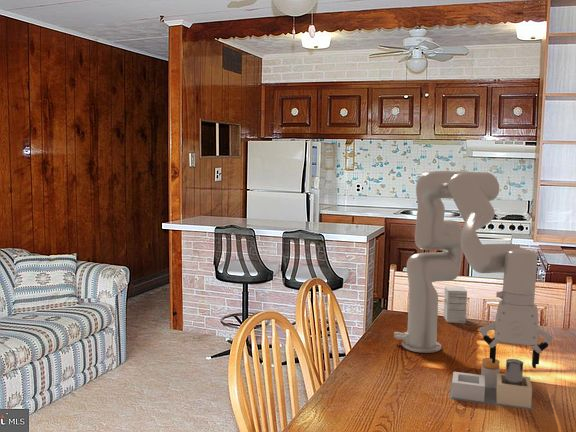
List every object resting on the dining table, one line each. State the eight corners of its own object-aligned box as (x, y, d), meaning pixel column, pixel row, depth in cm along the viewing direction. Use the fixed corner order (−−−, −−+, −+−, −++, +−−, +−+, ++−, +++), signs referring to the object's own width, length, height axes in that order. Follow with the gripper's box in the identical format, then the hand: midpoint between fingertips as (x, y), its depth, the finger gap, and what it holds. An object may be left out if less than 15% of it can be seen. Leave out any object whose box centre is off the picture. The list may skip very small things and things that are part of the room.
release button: (481, 384, 159) (482, 362, 159) (481, 378, 164) (482, 357, 163) (498, 386, 158) (499, 364, 157) (498, 380, 162) (499, 359, 162)
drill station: (448, 404, 151) (450, 379, 151) (451, 381, 166) (452, 359, 166) (533, 415, 145) (534, 390, 145) (528, 391, 160) (529, 368, 160)
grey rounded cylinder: (504, 401, 150) (506, 363, 149) (504, 395, 154) (505, 358, 153) (521, 403, 149) (523, 365, 148) (520, 397, 153) (522, 359, 152)
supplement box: (443, 317, 234) (444, 285, 232) (462, 318, 233) (463, 286, 232) (446, 322, 226) (447, 290, 225) (466, 323, 226) (467, 290, 224)
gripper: (482, 298, 148) (477, 364, 150) (557, 305, 142) (552, 374, 145) (481, 291, 155) (478, 354, 157) (553, 298, 150) (548, 363, 152)
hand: (513, 363), depth 151 cm, fingers open, 9 cm apart
